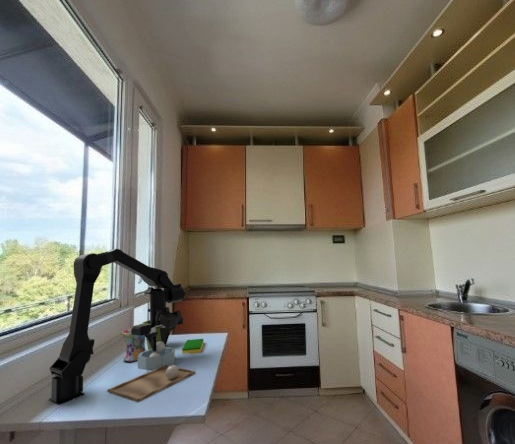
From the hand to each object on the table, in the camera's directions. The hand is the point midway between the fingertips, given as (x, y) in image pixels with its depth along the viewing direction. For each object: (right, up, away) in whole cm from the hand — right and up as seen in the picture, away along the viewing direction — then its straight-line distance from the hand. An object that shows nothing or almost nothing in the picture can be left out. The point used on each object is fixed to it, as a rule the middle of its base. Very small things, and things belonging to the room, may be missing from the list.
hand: (159, 349), depth 103 cm
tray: (+5, -2, -18) cm, 19 cm away
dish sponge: (+9, -7, +15) cm, 19 cm away
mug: (-12, -7, +7) cm, 15 cm away
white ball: (-1, -4, -2) cm, 5 cm away
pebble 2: (+10, -1, -17) cm, 20 cm away
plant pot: (-7, -8, +19) cm, 22 cm away
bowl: (0, -5, -2) cm, 5 cm away
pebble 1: (0, -1, 0) cm, 1 cm away
